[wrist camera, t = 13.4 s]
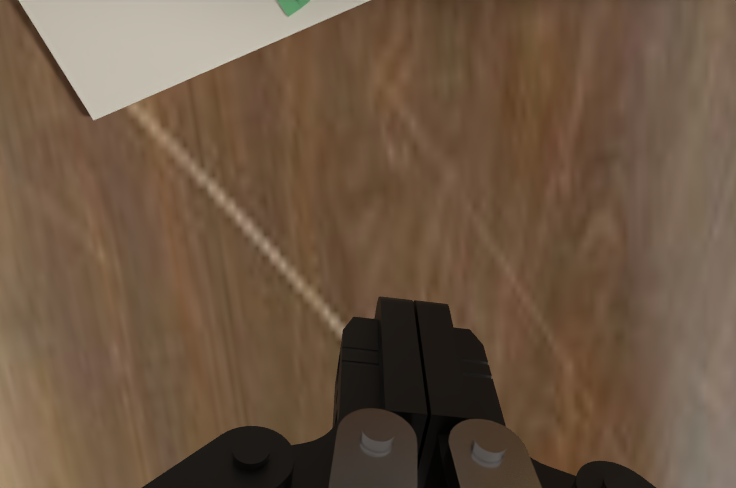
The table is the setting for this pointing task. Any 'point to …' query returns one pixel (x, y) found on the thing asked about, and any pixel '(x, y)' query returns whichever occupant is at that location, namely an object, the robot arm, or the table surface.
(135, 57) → the thin white panel
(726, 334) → the table surface
